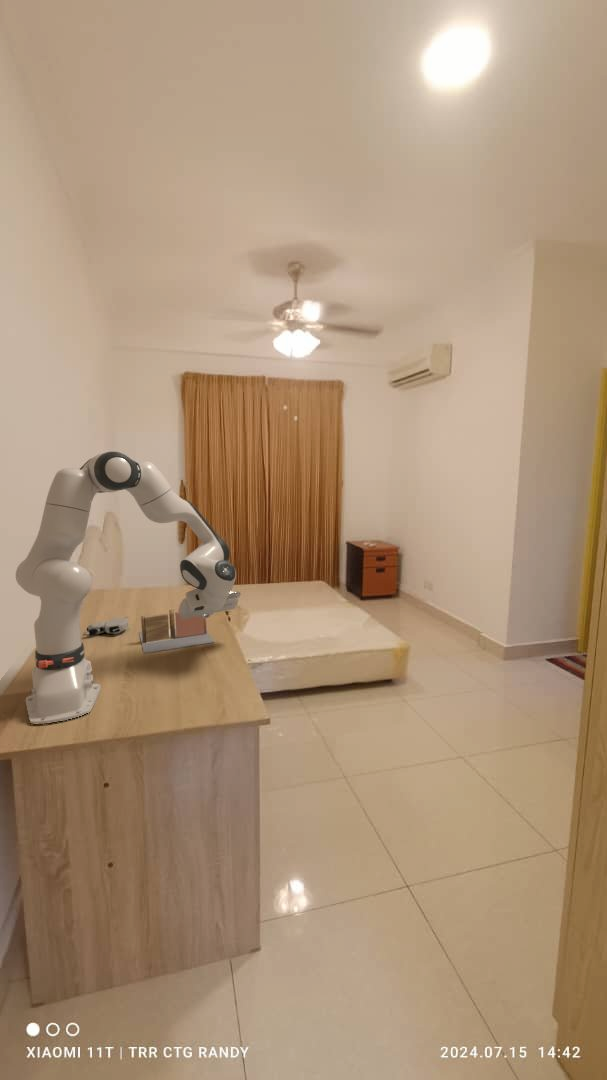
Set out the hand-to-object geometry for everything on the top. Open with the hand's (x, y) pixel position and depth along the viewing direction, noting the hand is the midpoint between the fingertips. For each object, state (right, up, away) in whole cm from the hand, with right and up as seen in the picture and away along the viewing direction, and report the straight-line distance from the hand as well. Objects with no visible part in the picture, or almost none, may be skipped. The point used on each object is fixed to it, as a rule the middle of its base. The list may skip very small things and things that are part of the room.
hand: (204, 616), depth 168 cm
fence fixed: (-18, -10, +5) cm, 21 cm away
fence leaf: (-7, -9, +10) cm, 15 cm away
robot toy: (-40, -9, +15) cm, 44 cm away
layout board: (-13, -9, +9) cm, 18 cm away
